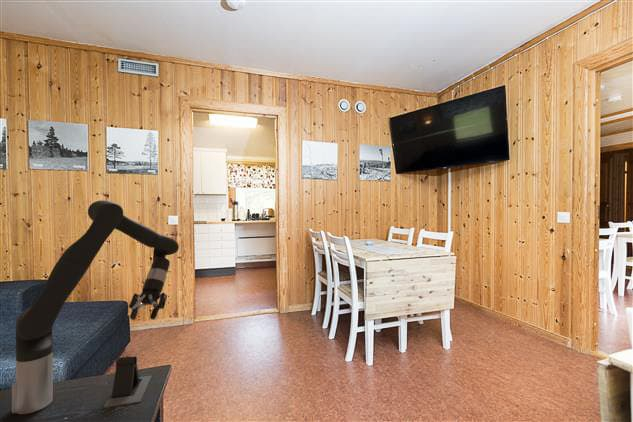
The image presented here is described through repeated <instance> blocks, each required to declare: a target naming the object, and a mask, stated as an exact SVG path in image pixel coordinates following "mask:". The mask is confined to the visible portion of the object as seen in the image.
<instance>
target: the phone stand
mask: <svg viewBox="0 0 633 422" xmlns="http://www.w3.org/2000/svg"><path fill="white" fill-rule="evenodd" d="M139 377H140V375H139V368H138V357H137V356H124V357H118V358H117V359H116V361H115V373H114V379H113V385H112V391H111V393H112V394H111V398H119V397H126V396H132V394H133V392H134V391H136V388H138V386H139V384H140V382H141V380H140V379H139Z"/></svg>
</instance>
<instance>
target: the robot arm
mask: <svg viewBox="0 0 633 422" xmlns="http://www.w3.org/2000/svg"><path fill="white" fill-rule="evenodd" d="M87 215H88V217H89V219H90V220H91V221H92V222H91V224H90V225H89V227H88V229H87V230H86V232H85V233H84V234H83V235H82V236H81V237H79V239H77V240H76V241H75V242H73V243H72V244H71V245H70V246H68V247H67V248H66V249H65V250H64V251H63V253H62V254H61V255H60V257H59V258H58V260H57V262H56V263H55V264H54V266H53V268H52V270H51V272H50V274H49V276H48V277H47V280H46V283H45V285H44V287H43V290H42V292H41V293H40V295H39V297H38V298H37V299H36V301H35V302H34V303H33V304H32V306H31V307H28V308H26V309H25V310H23V311H22V312H21V313H19V315H18V317H17V318H16V320H15V382H13V384H12V385H11V413H12V414H17V415H27V414H31V413H34V412H35V413H36V412H38V411H41V410H42V409H44V408H46V407H47V406H49V405H50V404H51V403H52V402H53V394H54V393H53V390H54V389H53V383H54V382H53V381H54V380H53V375H54V373H53V372H54V371H53V368H54V367H53V366H54V364H53V363H54V362H53V361H54V359H53V357H54V341H53V326H54V324H55V322H56V320H57V317H58V316H59V314H60V312H61V310H62V308H63V306H64V304H65V303H66V301H67V300H68V298H69V297H70V296H71V294H72V293H73V291H74V290H75V288H76V287H77V286H78V285H79V284H80V282H81V280H82V279H83V277H84V275H85V274H86V273H87V271H88V269H89V268H90V266H91V264H92V263H93V262H94V259H95V258H96V256H97V255H98V253H99V252H100V250H101V248H102V247H103V245H104V244H105V242H106V241H107V240H108V238H109V237H110V236H111V234H112V233H113V232H114V230H117V231H120V232H121V233H123V234H124V235H126V236H128V237H130V238H132V239H133V240H135V241H137V242H138V243H141V244H142V245H143V246H146V247H147V248H152V249H153V254H152V263H151V266H150V270H149V271H148V273H147V275H146V278H145V280H144V284H143V285H142V292H140V293H141V294H137V293H134V294H133V295H132V298H131V299H130V302H129V305H128V308H129V309H131V313H130V315H129V318H130V320H132V321H134V320H136V318H137V315H138V312H139V310H140V309H141V308H142V307H144V306H148V305H150V306H152V307H153V308H152V310H151V313H150V316H149V319H150V320H153V321H154V320H155V319H156V318H157V315H158V313H159V310H161V309H164V308H165V305H166V302H167V298H168V295H167V294H166V293H164V292H162V291H163V288H164V285H165V282H166V279H167V273H168V271H169V268H170V266H171V265H170V264H171V261H170V260H169V258H166V257H167V256H170V255H174V254H176V253H178V251H179V249H180V245H179V243H178V241H176V239H174V238H173V237H169V236H168V235H167V236H166V235H165V234H160V233H158V232H156V231H155V230H153V229H152V228H150V227H148V226H146V225H144V224H142V223H139V222H138V221H135V220H133V219H131V218H130V217H128V216H125V215H124V209H123V207H122V206H121V204H118V203H116V202H113V201H108V200H96V201H94V202H92V203H91V204H90V205H89V207H88V208H87ZM158 300H159V302H158Z"/></svg>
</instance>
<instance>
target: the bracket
mask: <svg viewBox="0 0 633 422" xmlns="http://www.w3.org/2000/svg"><path fill="white" fill-rule="evenodd" d="M139 379H140V383H139V384H138V385H137V387H136V388H137V389H136V390H135V393H134V395H130V396H123V397H111V398H109V399H107V401H105V404H104V405H103V409H108V408H114V407H115V408H116V407H121V406H127V405H133V404H141V401H142V400H143V398H144V395H145V393H146V390H147V388H148V386H149V384H150V382H151V379H152V375H146V376H139Z"/></svg>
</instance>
